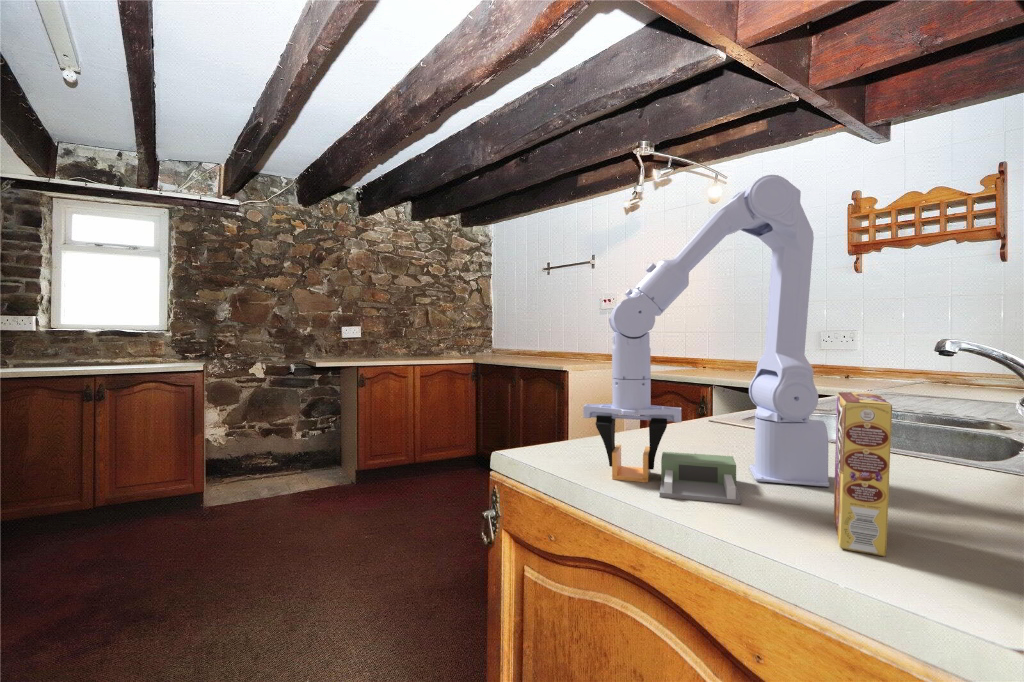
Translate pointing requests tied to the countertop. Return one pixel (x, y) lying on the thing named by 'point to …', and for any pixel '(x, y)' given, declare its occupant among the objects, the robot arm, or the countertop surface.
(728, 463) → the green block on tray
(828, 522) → the countertop surface
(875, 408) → the candy box
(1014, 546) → the countertop surface
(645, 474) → the chute
